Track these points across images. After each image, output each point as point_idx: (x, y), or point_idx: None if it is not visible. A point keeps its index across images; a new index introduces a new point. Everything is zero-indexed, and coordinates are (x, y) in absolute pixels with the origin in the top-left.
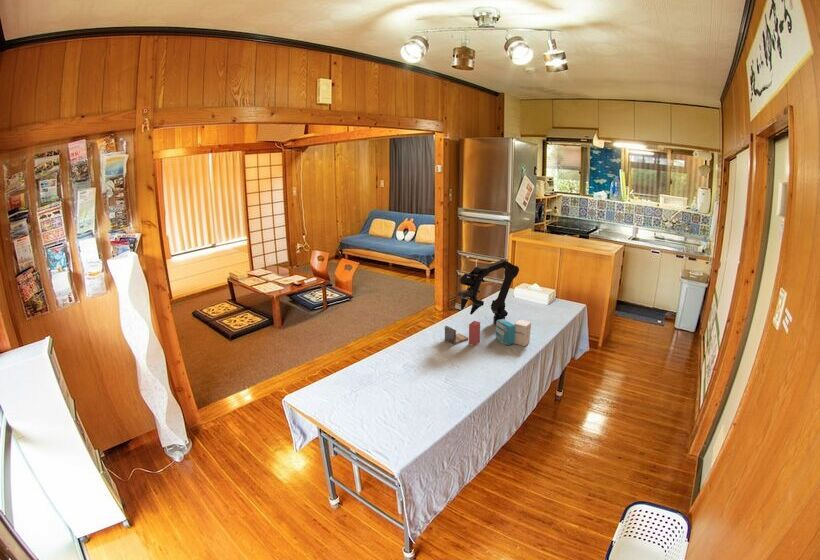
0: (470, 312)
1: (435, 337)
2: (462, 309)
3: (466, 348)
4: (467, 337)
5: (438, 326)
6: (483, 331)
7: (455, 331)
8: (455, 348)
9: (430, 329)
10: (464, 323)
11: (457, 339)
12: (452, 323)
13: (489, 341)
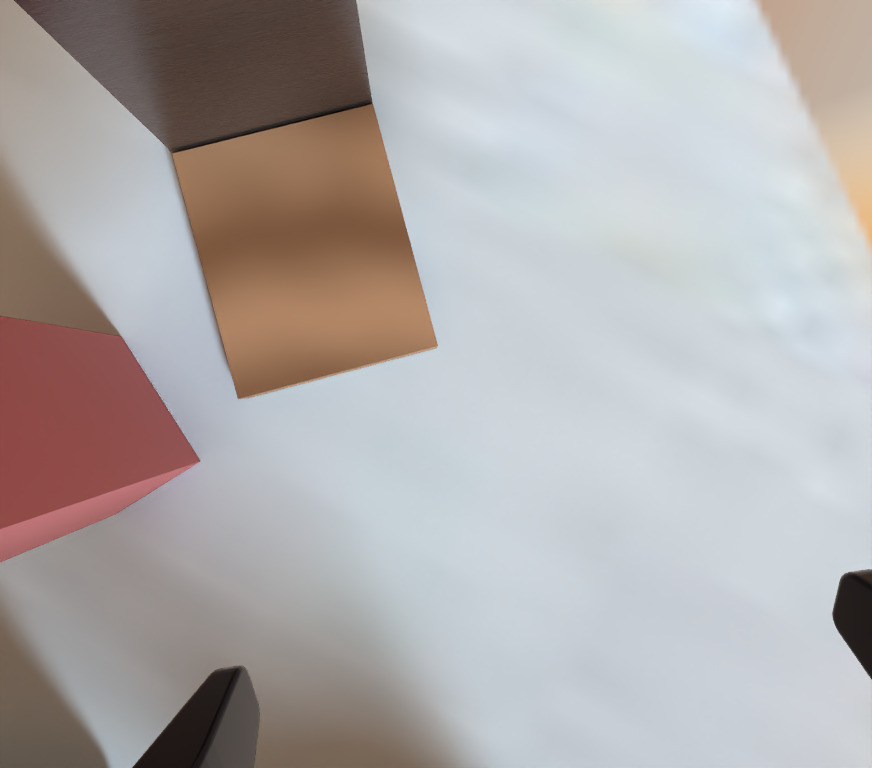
0: (203, 725)
1: (504, 8)
2: (839, 620)
3: (13, 243)
4: (251, 393)
5: (820, 210)
6: (396, 736)
7: (30, 7)
8: (78, 104)
9: (773, 59)
10: (760, 612)
11: (253, 223)
12: (832, 447)
13: (68, 648)
